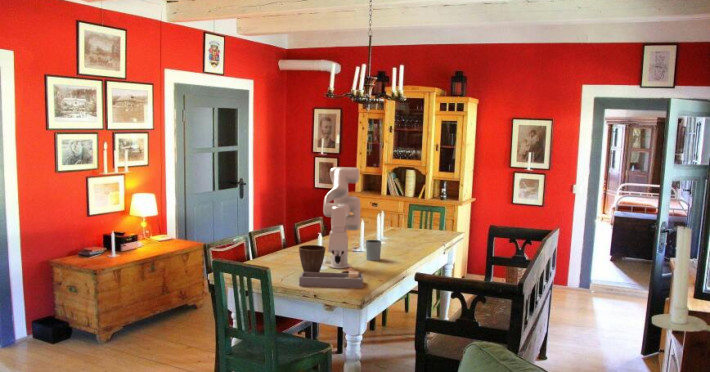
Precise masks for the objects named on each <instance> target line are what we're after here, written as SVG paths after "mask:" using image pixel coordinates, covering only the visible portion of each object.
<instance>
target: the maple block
mask: <svg viewBox="0 0 710 372" xmlns="http://www.w3.org/2000/svg"><path fill="white" fill-rule="evenodd" d="M359 272H360V271H359ZM359 272H351V271H349V274H348V278H351V279H358V274H359Z"/></svg>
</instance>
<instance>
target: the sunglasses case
mask: <svg viewBox="0 0 710 372" xmlns="http://www.w3.org/2000/svg"><path fill="white" fill-rule="evenodd" d="M349 271H351V272H359V274H363V272H361V271H359V270H357V269H355V268H353V267H352V266H350V267H348V268H345V270H343V271H342V272H341V273H349Z"/></svg>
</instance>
